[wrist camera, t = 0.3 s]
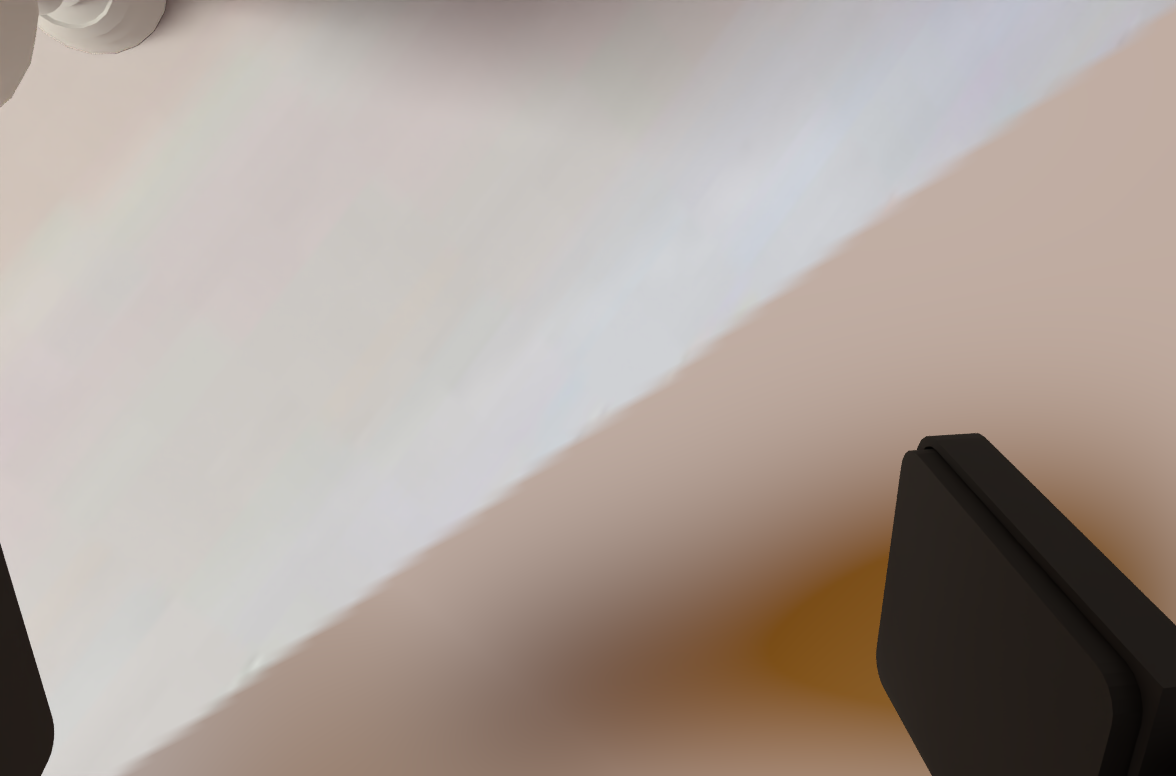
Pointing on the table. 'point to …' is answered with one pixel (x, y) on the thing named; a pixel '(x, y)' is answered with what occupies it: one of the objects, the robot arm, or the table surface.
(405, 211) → the table surface
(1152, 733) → the robot arm
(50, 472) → the table surface
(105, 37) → the chalice
